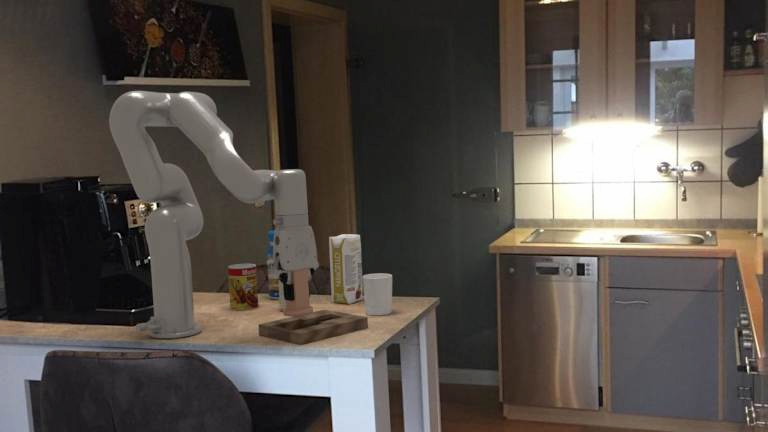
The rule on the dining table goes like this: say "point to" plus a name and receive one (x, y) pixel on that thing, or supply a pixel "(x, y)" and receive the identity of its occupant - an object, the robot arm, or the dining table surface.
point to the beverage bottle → (272, 279)
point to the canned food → (243, 286)
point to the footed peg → (299, 295)
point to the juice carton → (346, 268)
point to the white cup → (377, 293)
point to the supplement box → (281, 296)
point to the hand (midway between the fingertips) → (297, 297)
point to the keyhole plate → (313, 326)
